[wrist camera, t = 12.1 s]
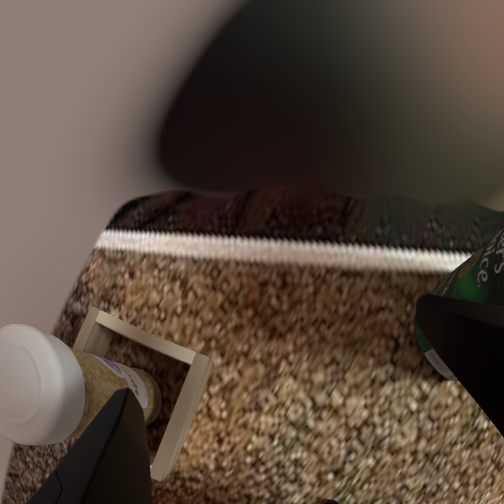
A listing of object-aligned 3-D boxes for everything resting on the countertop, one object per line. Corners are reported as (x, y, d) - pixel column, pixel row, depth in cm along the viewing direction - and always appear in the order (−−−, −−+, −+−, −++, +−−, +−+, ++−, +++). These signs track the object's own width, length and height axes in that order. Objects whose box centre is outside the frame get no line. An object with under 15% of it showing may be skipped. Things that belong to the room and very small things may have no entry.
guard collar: (214, 363, 21) (208, 356, 18) (172, 470, 18) (160, 481, 15) (110, 318, 22) (91, 305, 19) (71, 416, 19) (47, 417, 16)
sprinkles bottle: (169, 377, 21) (74, 342, 9) (156, 436, 19) (49, 469, 7) (112, 360, 21) (-11, 305, 9) (99, 416, 19) (-35, 411, 7)
